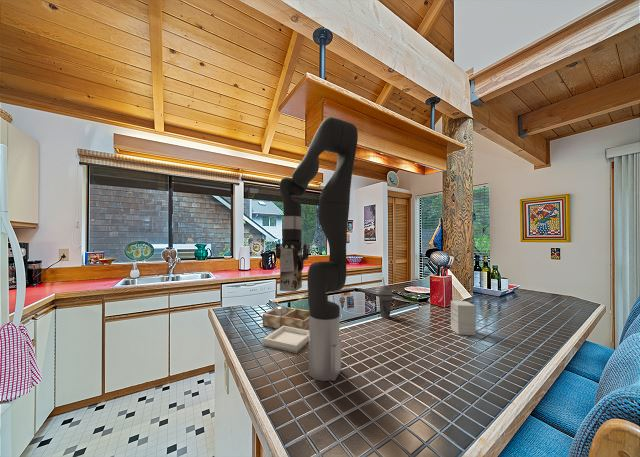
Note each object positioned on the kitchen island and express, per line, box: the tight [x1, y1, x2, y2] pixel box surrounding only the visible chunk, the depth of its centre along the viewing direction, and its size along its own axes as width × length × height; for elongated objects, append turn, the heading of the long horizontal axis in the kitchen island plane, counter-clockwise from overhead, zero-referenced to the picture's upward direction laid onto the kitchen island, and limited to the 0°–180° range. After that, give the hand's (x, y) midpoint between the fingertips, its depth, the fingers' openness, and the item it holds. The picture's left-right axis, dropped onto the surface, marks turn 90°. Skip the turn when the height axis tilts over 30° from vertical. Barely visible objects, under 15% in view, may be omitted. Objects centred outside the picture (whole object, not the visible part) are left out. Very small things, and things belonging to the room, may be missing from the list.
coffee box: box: [279, 247, 303, 293], centre depth 95 cm, size 9×6×16 cm
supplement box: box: [450, 300, 477, 336], centre depth 107 cm, size 7×7×13 cm
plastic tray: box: [262, 326, 309, 354], centre depth 93 cm, size 14×14×2 cm
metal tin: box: [274, 305, 287, 316], centre depth 114 cm, size 5×5×7 cm
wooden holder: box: [262, 306, 309, 330], centre depth 112 cm, size 21×14×5 cm, turn 67°
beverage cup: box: [377, 277, 393, 319], centre depth 124 cm, size 7×7×20 cm
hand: (291, 270), depth 95 cm, fingers closed on coffee box, 7 cm apart
